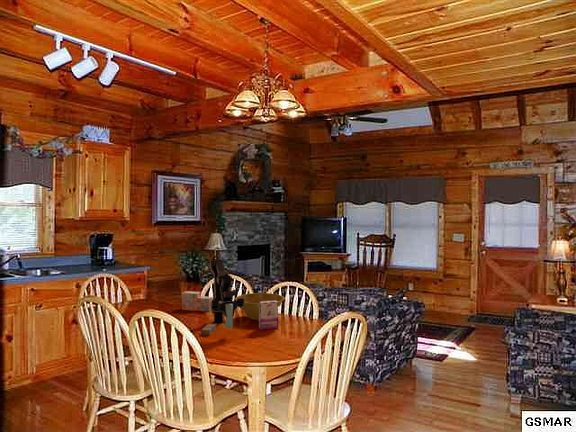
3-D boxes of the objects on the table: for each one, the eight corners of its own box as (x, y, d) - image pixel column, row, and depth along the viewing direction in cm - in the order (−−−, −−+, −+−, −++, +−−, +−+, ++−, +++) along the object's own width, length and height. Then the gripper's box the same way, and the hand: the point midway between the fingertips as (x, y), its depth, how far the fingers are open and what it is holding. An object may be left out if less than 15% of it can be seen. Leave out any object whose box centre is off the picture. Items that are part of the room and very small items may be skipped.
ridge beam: (208, 328, 275) (208, 323, 275) (216, 328, 275) (216, 324, 274) (201, 335, 261) (201, 330, 261) (209, 335, 261) (209, 330, 261)
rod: (226, 326, 261) (226, 303, 261) (233, 326, 261) (233, 303, 260) (224, 328, 257) (224, 305, 257) (231, 328, 257) (231, 305, 256)
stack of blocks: (212, 309, 324) (212, 292, 323) (209, 311, 318) (209, 294, 317) (185, 307, 330) (185, 290, 329) (181, 309, 324) (181, 292, 323)
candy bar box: (276, 326, 280) (276, 300, 280) (278, 328, 276) (278, 301, 275) (258, 327, 277) (258, 301, 277) (260, 330, 273) (260, 302, 272)
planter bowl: (262, 327, 279) (262, 305, 279) (225, 318, 298) (225, 298, 298) (293, 316, 305) (294, 296, 304) (257, 309, 324) (257, 290, 324)
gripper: (211, 285, 259) (215, 309, 249) (243, 284, 265) (248, 307, 255) (209, 296, 266) (212, 320, 256) (240, 294, 273) (244, 317, 263)
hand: (229, 316), depth 257 cm, fingers closed on rod, 4 cm apart
